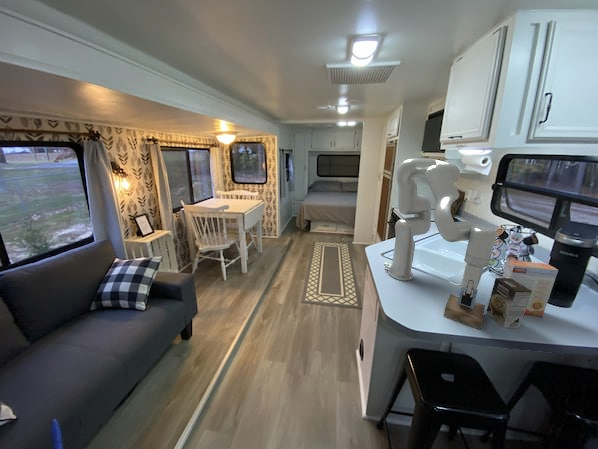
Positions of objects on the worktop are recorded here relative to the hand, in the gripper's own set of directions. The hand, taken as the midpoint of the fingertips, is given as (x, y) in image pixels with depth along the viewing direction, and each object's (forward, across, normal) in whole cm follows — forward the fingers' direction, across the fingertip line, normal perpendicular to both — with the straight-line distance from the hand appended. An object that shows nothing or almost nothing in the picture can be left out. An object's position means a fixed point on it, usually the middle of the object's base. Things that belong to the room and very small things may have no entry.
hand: (466, 300), depth 93 cm
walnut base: (+6, 0, 0) cm, 6 cm away
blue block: (+1, 0, 0) cm, 1 cm away
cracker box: (+7, -19, +17) cm, 26 cm away
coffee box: (+7, -6, +12) cm, 15 cm away
